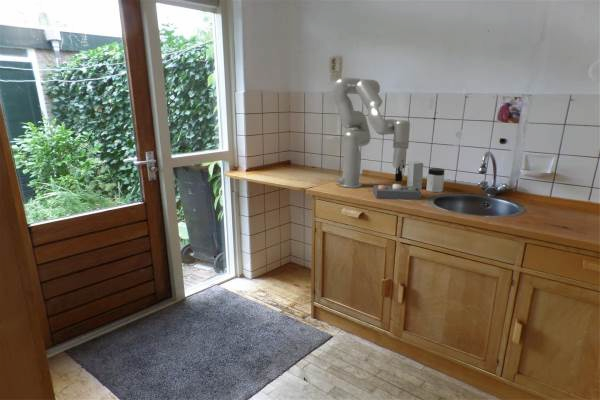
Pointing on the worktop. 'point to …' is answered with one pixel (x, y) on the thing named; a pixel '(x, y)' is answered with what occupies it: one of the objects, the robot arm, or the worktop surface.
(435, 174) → the jar
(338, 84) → the robot arm
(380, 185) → the terracotta button
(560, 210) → the worktop surface
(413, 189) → the sage button
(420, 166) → the skincare box
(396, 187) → the cream button
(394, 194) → the button panel
